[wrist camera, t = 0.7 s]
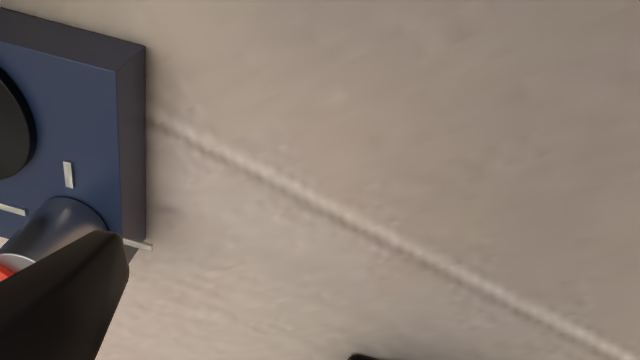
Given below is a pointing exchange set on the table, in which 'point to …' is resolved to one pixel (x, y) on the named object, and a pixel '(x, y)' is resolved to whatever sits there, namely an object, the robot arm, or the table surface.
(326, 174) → the table surface
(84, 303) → the robot arm
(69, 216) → the stove knob
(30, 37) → the hot plate
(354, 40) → the table surface
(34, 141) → the burner plate
